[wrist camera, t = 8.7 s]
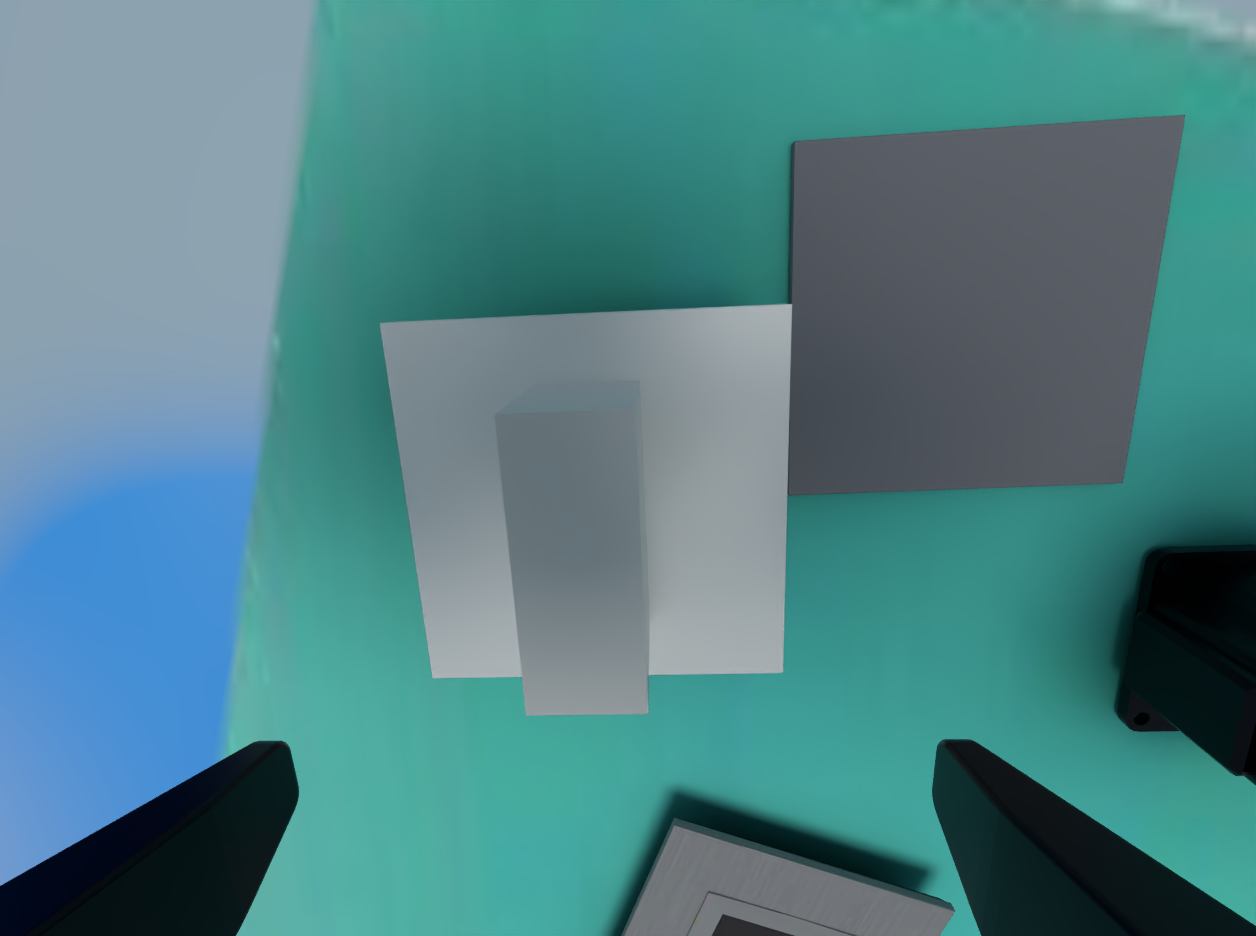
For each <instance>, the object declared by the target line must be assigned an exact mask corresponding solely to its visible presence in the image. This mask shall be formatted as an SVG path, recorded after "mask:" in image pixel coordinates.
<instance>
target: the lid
mask: <svg viewBox="0 0 1256 936" xmlns="http://www.w3.org/2000/svg"><path fill="white" fill-rule="evenodd" d="M791 325H792V304H765V305H743V306H722V307H700V308H678V309H656V310H635V311H613V312H591V313H570V314H548V315H526V316H505V317H483V318H461V319H440V320H418V321H396V322H386V323H380V329H381V336H382V342H383V349H384V356H385V362H386V369H387V376H388V382H389V389H390V396H391V403H392V409H393V416H394V423H395V429H396V436H397V443H398V449H399V456H400V463H401V469H402V476H403V483H404V489H405V496H406V503H407V509H408V516H409V523H410V530H411V536H412V543H413V550H414V556H415V563H416V570H417V576H418V583H419V590H420V596H421V603H422V610H423V616H424V623H425V630H426V636H427V643H428V650H429V657H430V663H431V670H432V677H433V678H472V677H522V682H523V691H524V701H525V710H526V715H613V714H648V705H649V675H678V674H746V673H783V651H784V610H785V569H786V529H787V488H788V447H789V407H790V366H791Z"/></svg>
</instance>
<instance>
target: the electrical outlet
mask: <svg viewBox="0 0 1256 936" xmlns="http://www.w3.org/2000/svg"><path fill="white" fill-rule="evenodd" d="M954 912H955V910H954V908H953V906H952V905H951V903H948V902H945V901H943V900H942V899H940V898H937V897H934V896H930V895H927V894H924V893H921V892H917V891H914V890H911V889H907V888H904V887H901V886H898V885H894V884H891V883H888V882H885V881H881V880H878V879H875V878H872V877H868V876H865V875H862V874H859V873H855V872H852V871H849V870H845V869H842V868H839V867H836V866H832V865H829V864H826V863H823V862H819V861H816V860H813V859H810V858H806V857H803V856H800V855H796V854H793V853H790V852H787V851H783V850H780V849H777V848H774V847H770V846H767V845H764V844H761V843H757V842H754V841H751V840H748V839H744V838H741V837H738V836H734V835H731V834H728V833H725V832H721V831H718V830H715V829H712V828H708V827H705V826H702V825H699V824H695V823H692V822H689V821H686V820H682V819H677V818H674V819H673V822H672V824H671V826H670V828H669V830H668V833H667V835H666V837H665V839H664V842H663V844H662V846H661V848H660V850H659V853H658V855H657V857H656V859H655V862H654V864H653V866H652V868H651V870H650V873H649V875H648V877H647V879H646V881H645V884H644V886H643V888H642V890H641V893H640V895H639V897H638V899H637V901H636V904H635V906H634V908H633V910H632V912H631V915H630V917H629V919H628V921H627V924H626V926H625V928H624V930H623V932H622V935H621V936H940V934H941V933H942V931H943V929H944V928H945V926H946V925H947V923H948V922H949V920H950V919H951V917H952V915H953V914H954Z"/></svg>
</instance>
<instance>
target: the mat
mask: <svg viewBox="0 0 1256 936" xmlns="http://www.w3.org/2000/svg"><path fill="white" fill-rule="evenodd" d="M1184 119H1185V115H1177V116H1162V117H1147V118H1133V119H1118V120H1103V121H1088V122H1073V123H1058V124H1043V125H1029V126H1014V127H999V128H984V129H969V130H954V131H939V132H925V133H910V134H895V135H880V136H865V137H850V138H836V139H821V140H806V141H795V142H794V143H793V144H792V160H791V220H790V280H789V304H792V325H791V366H790V407H789V447H788V488H787V494H788V495H812V494H839V493H867V492H894V491H922V490H949V489H977V488H1004V487H1032V486H1059V485H1087V484H1114V483H1123V479H1124V473H1125V467H1126V461H1127V455H1128V449H1129V443H1130V438H1131V432H1132V426H1133V420H1134V414H1135V408H1136V402H1137V396H1138V390H1139V385H1140V379H1141V373H1142V367H1143V361H1144V355H1145V349H1146V343H1147V337H1148V332H1149V326H1150V320H1151V314H1152V308H1153V302H1154V296H1155V290H1156V284H1157V278H1158V273H1159V267H1160V261H1161V255H1162V249H1163V243H1164V237H1165V231H1166V225H1167V220H1168V214H1169V208H1170V202H1171V196H1172V190H1173V184H1174V178H1175V172H1176V167H1177V161H1178V155H1179V149H1180V143H1181V137H1182V131H1183V125H1184Z"/></svg>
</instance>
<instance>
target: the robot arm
mask: <svg viewBox="0 0 1256 936" xmlns="http://www.w3.org/2000/svg"><path fill="white" fill-rule="evenodd" d="M1168 561H1170V564H1169V566H1168V567H1166V568H1165V569H1163V567H1164V565H1165V564H1166V563H1167V562H1168ZM1117 712H1118V717H1119V719H1120V720H1121V721H1122V722H1123V723H1124V724H1125V725H1126V726H1127V727H1128V728H1130V729H1131V730H1133V731H1138V732H1146V731H1181V732H1182V733H1183V734H1184V735H1186V736H1187V737H1188V738H1189V739H1190V740H1192V741H1193V742H1194V743H1195V744H1196V745H1198V746H1199V747H1200V748H1201V749H1202V750H1204V751H1205V752H1206V753H1207V754H1208V755H1210V756H1211V757H1212V758H1213V759H1214V760H1216V761H1217V762H1218V763H1219V764H1220V765H1222V766H1223V767H1224V768H1225V769H1226V770H1228V771H1229V772H1230V773H1232V774H1233V775H1235V776H1245V777H1246V778H1247V779H1248V780H1250V781H1251V782H1252V783H1253V784H1255V785H1256V545H1233V546H1200V547H1168V548H1160V549H1157V550H1155V551H1153V552H1152V553H1151V554H1150V555H1149V556H1148V557H1147V560H1146V562H1145V567H1144V572H1143V577H1142V583H1141V588H1140V593H1139V599H1138V604H1137V609H1136V615H1135V620H1134V625H1133V631H1132V636H1131V642H1130V647H1129V652H1128V658H1127V663H1126V668H1125V674H1124V679H1123V684H1122V690H1121V695H1120V700H1119V706H1118V711H1117ZM1138 713H1139V715H1137V714H1138ZM1136 715H1137V716H1136ZM1135 716H1136V717H1135ZM298 797H299V786H298V781H297V777H296V772H295V768H294V763H293V759H292V754H291V750H290V747H289V746H288V744H287V743H286V742H283V741H256V742H253V743H251V744H250V745H248V746H246V747H244V748H242V749H241V750H239V751H237V752H235V753H234V754H232V755H230V756H228V757H227V758H225V759H223V760H221V761H220V762H218V763H216V764H214V765H213V766H211V767H209V768H207V769H205V770H204V771H202V772H200V773H198V774H197V775H195V776H193V777H192V778H190V779H188V780H186V781H185V782H183V783H181V784H179V785H177V786H176V787H174V788H172V789H170V790H169V791H167V792H165V793H163V794H161V795H160V796H158V797H156V798H154V799H153V800H151V801H149V802H147V803H146V804H144V805H142V806H140V807H139V808H137V809H135V810H133V811H132V812H130V813H128V814H126V815H124V816H123V817H121V818H119V819H117V820H116V821H114V822H112V823H110V824H109V825H107V826H105V827H103V828H101V829H100V830H98V831H96V832H94V833H93V834H91V835H89V836H88V837H86V838H84V839H82V840H80V841H79V842H77V843H75V844H73V845H72V846H70V847H68V848H66V849H64V850H63V851H61V852H59V853H58V854H56V855H54V856H52V857H50V858H49V859H47V860H45V861H43V862H42V863H40V864H38V865H36V866H35V867H33V868H31V869H29V870H27V871H26V872H24V873H22V874H20V875H19V876H17V877H15V878H14V879H12V880H10V881H8V882H6V883H5V884H3V885H1V886H0V936H236V935H237V933H238V931H239V929H240V927H241V925H242V923H243V921H244V919H245V917H246V915H247V913H248V911H249V909H250V907H251V905H252V903H253V901H254V899H255V896H256V894H257V892H258V890H259V888H260V885H261V883H262V881H263V879H264V876H265V874H266V872H267V870H268V868H269V865H270V863H271V861H272V859H273V857H274V854H275V852H276V850H277V848H278V846H279V843H280V841H281V839H282V837H283V835H284V832H285V830H286V828H287V826H288V824H289V821H290V819H291V817H292V815H293V813H294V810H295V808H296V805H297V802H298ZM932 797H933V803H934V807H935V810H936V813H937V816H938V819H939V822H940V824H941V827H942V830H943V833H944V835H945V838H946V841H947V844H948V846H949V849H950V852H951V855H952V857H953V860H954V863H955V866H956V869H957V871H958V874H959V877H960V880H961V882H962V885H963V888H964V891H965V893H966V896H967V899H968V902H969V904H970V907H971V910H972V913H973V915H974V918H975V920H976V923H977V926H978V928H979V931H980V933H981V936H1256V926H1255V925H1253V924H1252V923H1250V922H1249V921H1247V920H1246V919H1244V918H1243V917H1241V916H1240V915H1238V914H1237V913H1235V912H1234V911H1232V910H1231V909H1229V908H1228V907H1226V906H1225V905H1223V904H1222V903H1220V902H1218V901H1217V900H1215V899H1214V898H1212V897H1211V896H1209V895H1208V894H1206V893H1205V892H1203V891H1202V890H1200V889H1199V888H1197V887H1196V886H1194V885H1193V884H1191V883H1190V882H1188V881H1187V880H1185V879H1184V878H1182V877H1181V876H1179V875H1177V874H1176V873H1174V872H1173V871H1171V870H1170V869H1168V868H1167V867H1165V866H1164V865H1162V864H1161V863H1159V862H1158V861H1156V860H1155V859H1153V858H1152V857H1150V856H1149V855H1147V854H1146V853H1144V852H1143V851H1141V850H1139V849H1138V848H1136V847H1135V846H1133V845H1132V844H1130V843H1129V842H1127V841H1126V840H1124V839H1123V838H1121V837H1120V836H1118V835H1117V834H1115V833H1114V832H1112V831H1111V830H1109V829H1108V828H1106V827H1105V826H1103V825H1102V824H1100V823H1098V822H1097V821H1095V820H1094V819H1092V818H1091V817H1089V816H1088V815H1086V814H1085V813H1083V812H1082V811H1080V810H1079V809H1077V808H1076V807H1074V806H1073V805H1071V804H1070V803H1068V802H1067V801H1065V800H1064V799H1062V798H1061V797H1059V796H1057V795H1056V794H1054V793H1053V792H1051V791H1050V790H1048V789H1047V788H1045V787H1044V786H1042V785H1041V784H1039V783H1038V782H1036V781H1035V780H1033V779H1032V778H1030V777H1029V776H1027V775H1026V774H1024V773H1023V772H1021V771H1019V770H1018V769H1016V768H1015V767H1013V766H1012V765H1010V764H1009V763H1007V762H1006V761H1004V760H1003V759H1001V758H1000V757H998V756H997V755H995V754H994V753H992V752H991V751H989V750H988V749H986V748H985V747H983V746H982V745H980V744H978V743H977V742H975V741H973V740H969V739H945V740H942V741H940V742H939V744H938V746H937V750H936V759H935V768H934V777H933V786H932Z"/></svg>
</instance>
